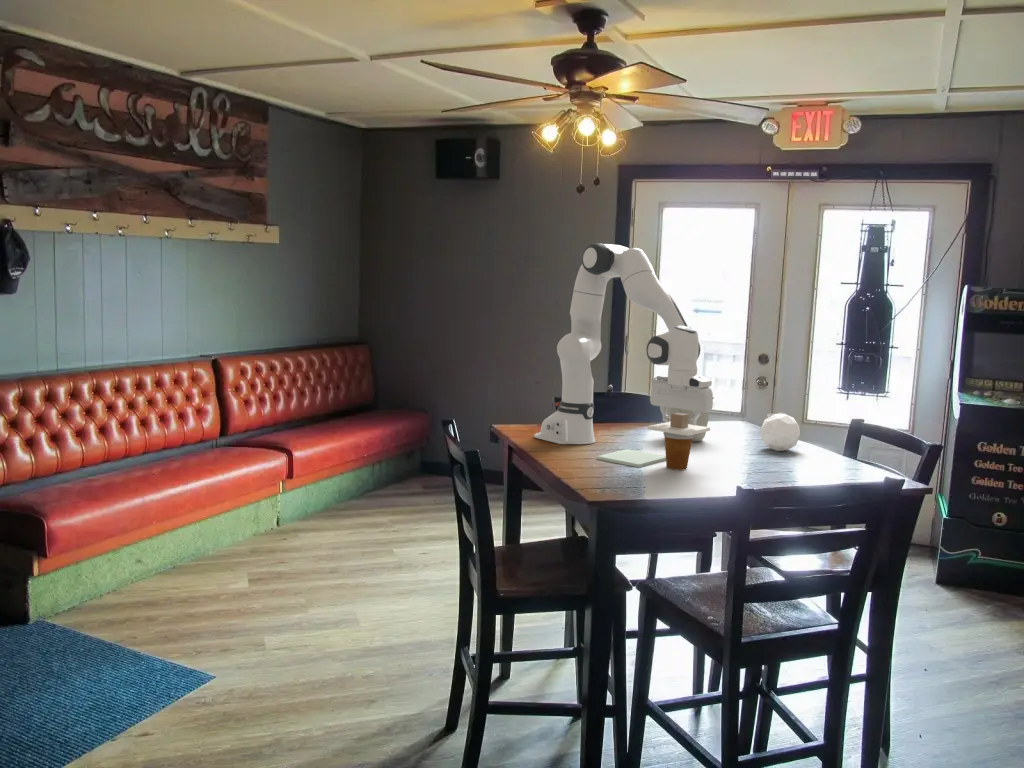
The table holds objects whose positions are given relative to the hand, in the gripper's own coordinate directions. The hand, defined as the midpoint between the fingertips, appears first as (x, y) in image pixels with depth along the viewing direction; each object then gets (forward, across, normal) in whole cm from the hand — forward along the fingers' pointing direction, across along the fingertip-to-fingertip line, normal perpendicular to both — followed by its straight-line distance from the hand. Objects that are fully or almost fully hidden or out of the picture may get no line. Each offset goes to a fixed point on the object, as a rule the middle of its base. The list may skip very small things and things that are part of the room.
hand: (679, 422), depth 269 cm
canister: (+14, -22, +46) cm, 53 cm away
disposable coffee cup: (+14, 0, 0) cm, 14 cm away
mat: (+14, -16, 0) cm, 21 cm away
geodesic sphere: (+14, +10, +55) cm, 58 cm away
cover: (+2, 0, 0) cm, 2 cm away
